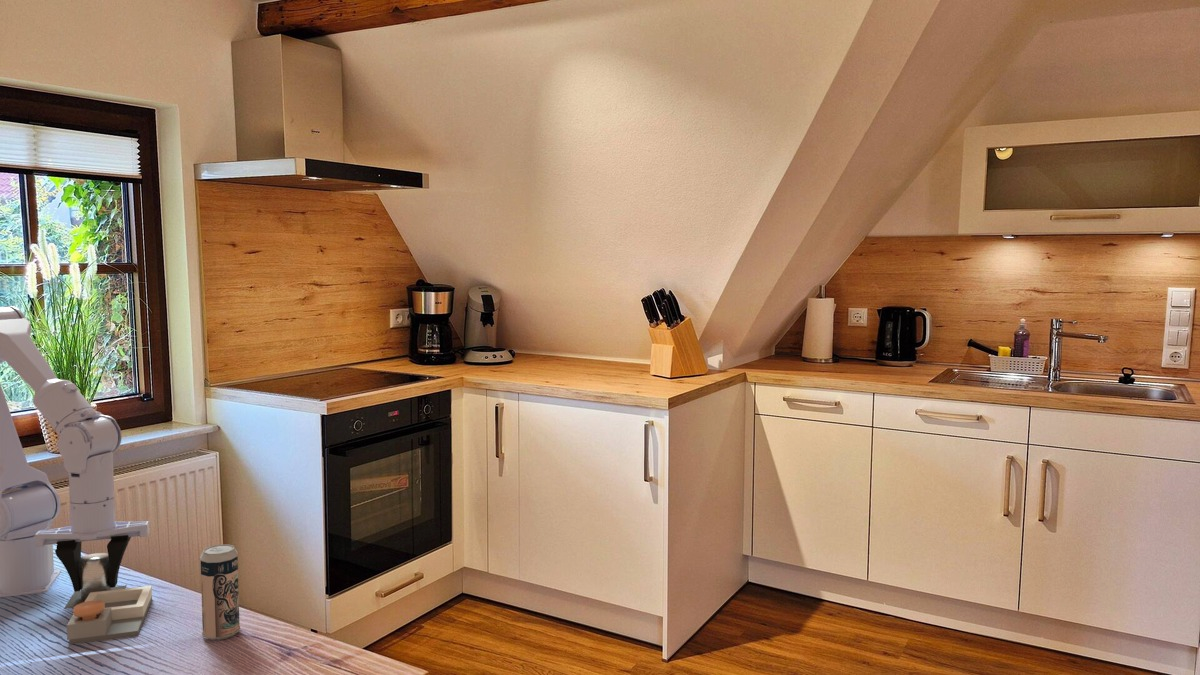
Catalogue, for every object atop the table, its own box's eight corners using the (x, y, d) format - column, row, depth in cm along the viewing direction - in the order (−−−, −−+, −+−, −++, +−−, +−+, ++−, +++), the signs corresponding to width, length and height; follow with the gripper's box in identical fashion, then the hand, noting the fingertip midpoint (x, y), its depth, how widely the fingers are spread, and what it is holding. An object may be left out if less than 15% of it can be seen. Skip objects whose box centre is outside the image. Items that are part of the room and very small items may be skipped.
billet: (84, 593, 127) (82, 554, 127) (114, 589, 129) (112, 551, 128) (78, 602, 124) (76, 563, 123) (108, 599, 125) (107, 560, 124)
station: (89, 609, 122) (88, 589, 122) (152, 601, 125) (151, 582, 125) (67, 647, 110) (66, 625, 110) (137, 638, 113) (137, 616, 113)
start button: (77, 625, 114) (76, 602, 114) (107, 621, 115) (107, 599, 115) (71, 636, 111) (70, 612, 110) (102, 632, 112) (101, 609, 112)
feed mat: (75, 593, 128) (75, 590, 128) (126, 587, 131) (126, 585, 131) (63, 611, 122) (63, 608, 122) (118, 604, 124) (118, 602, 124)
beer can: (225, 643, 112) (223, 556, 111) (194, 640, 113) (191, 553, 112) (247, 628, 116) (245, 544, 115) (217, 625, 117) (214, 542, 116)
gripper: (27, 510, 119) (32, 603, 120) (142, 501, 124) (146, 590, 125) (41, 497, 125) (45, 585, 126) (149, 489, 130) (152, 574, 131)
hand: (95, 587), depth 126 cm, fingers closed on billet, 4 cm apart
